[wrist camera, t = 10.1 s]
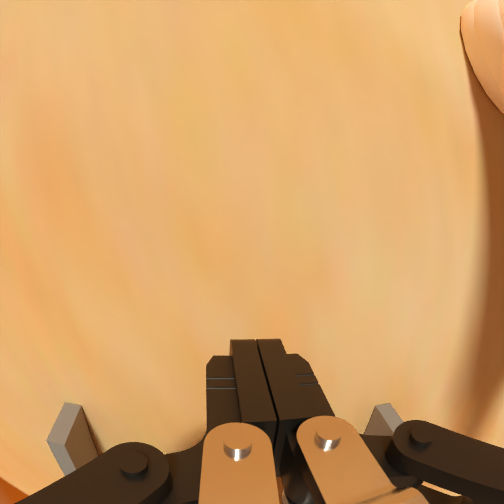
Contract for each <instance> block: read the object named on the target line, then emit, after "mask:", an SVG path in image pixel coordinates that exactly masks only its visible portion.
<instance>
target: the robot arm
mask: <svg viewBox="0 0 504 504" xmlns="http://www.w3.org/2000/svg"><path fill="white" fill-rule="evenodd" d="M206 399H207V431H206V434H205V436H204V437H203V439H202V440H201V441H200V442H199V443H198V444H197V445H195V446H193V447H192V448H190V449H187V450H184V451H181V452H176V453H171V454H166V455H164V454H163V453H162V452H161V451H160V450H158V449H157V448H155V447H153V446H151V445H148V444H145V443H139V442H128V443H122V444H119V445H116V446H114V447H112V448H111V449H109V450H107V451H106V452H104V453H103V454H101V455H100V456H98V457H96V458H95V459H93V460H91V461H90V462H88V463H87V464H85V465H83V466H82V467H80V468H78V469H77V470H75V471H73V472H71V473H70V474H68V475H66V476H65V477H63V478H61V479H59V480H58V481H56V482H54V483H52V484H51V485H49V486H47V487H45V488H43V489H41V490H40V491H38V492H36V493H34V494H32V495H30V496H28V497H26V498H25V499H23V500H21V501H19V502H17V503H15V504H280V503H279V495H278V488H277V481H276V477H281V479H282V483H283V491H282V495H281V499H282V503H283V504H504V448H501V447H497V446H494V445H491V444H488V443H485V442H482V441H479V440H476V439H473V438H470V437H467V436H464V435H462V434H459V433H456V432H453V431H450V430H448V429H445V428H442V427H440V426H437V425H434V424H432V423H429V422H426V421H421V420H411V421H406V422H404V423H402V424H400V425H399V426H398V427H397V428H396V429H395V431H394V433H393V435H392V436H379V435H363V434H358V432H357V431H356V429H355V428H354V427H353V426H352V425H351V424H350V423H348V422H347V421H345V420H343V419H340V418H337V417H335V415H334V413H333V411H332V409H331V407H330V405H329V403H328V401H327V399H326V397H325V395H324V393H323V391H322V389H321V387H320V385H318V381H317V379H316V377H315V375H314V373H313V371H312V369H311V367H310V365H309V363H308V362H307V361H306V360H305V359H303V358H302V357H301V356H300V355H298V354H286V351H285V349H284V346H283V344H282V341H281V340H280V339H256V340H254V339H248V340H230V356H213V357H212V358H211V360H210V361H209V363H208V364H207V365H206ZM423 481H425V482H428V483H430V484H433V485H435V486H438V487H441V488H443V489H446V490H449V491H452V492H455V493H458V494H461V496H450V495H447V494H444V493H442V492H439V491H436V490H434V489H431V488H428V487H426V486H423V485H421V484H422V483H423Z"/></svg>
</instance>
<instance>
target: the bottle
mask: <svg viewBox="0 0 504 504" xmlns="http://www.w3.org/2000/svg"><path fill="white" fill-rule="evenodd" d="M461 33H462V37H463V41H464V46H465V50H466V53H467V56H468V58H469V61H470V63H471V66H472V68H473V71H474V73H475V75H476V77H477V78H478V80H479V82H480V84H481V85H482V87H483V89H484V91H485V92H486V94H487V95H488V97H489V98H490V99H491V100H492V101H493V103H494V104H495V105H496V106H497V107H498V109H499V110H500V111H501V112H502V113H504V0H474V1H472V2H470V3H468V4H467V5H466V7H465V8H464V10H463V11H462V13H461Z"/></svg>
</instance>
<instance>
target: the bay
mask: <svg viewBox="0 0 504 504" xmlns="http://www.w3.org/2000/svg"><path fill="white" fill-rule="evenodd" d="M402 423H404V422H403V421H402V419H401V418H400V416H399V415H398V414H397V412H396V411H395V409H394V408H393V407H392V405H391V404H390V403H389V404H383V405H378V406H375V409H374V411H373V414H372V416H371V419H370V421H369V424H368V426H367V428H366V431H365V433H364V435H379V436H392V435H393V433H394V431H395V429H396V428H397V427H398V426H399V425H400V424H402ZM46 441H47V443H48V445H49V447H50V449H51V451H52V453H53V455H54V457H55V458H56V460H57V462H58V464H59V466H60V468H61V470H62V471H63V473H64V475H65V476H66V475H68V474H70V473H71V472H73V471H75V470H77V469H78V468H80V467H82V466H83V465H85V464H87V463H88V462H90V461H91V460H93V459H95V458H96V457H98V453H97V450H96V448H95V445H94V442H93V440H92V437H91V434H90V431H89V428H88V425H87V422H86V419H85V416H84V413H83V410H82V407H81V406H80V405H75V404H70V403H64V405H63V407H62V409H61V411H60V413H59V415H58V417H57V419H56V421H55V423H54V425H53V428H52V430H51V432H50V434H49V436H48V438H47V440H46Z"/></svg>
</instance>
